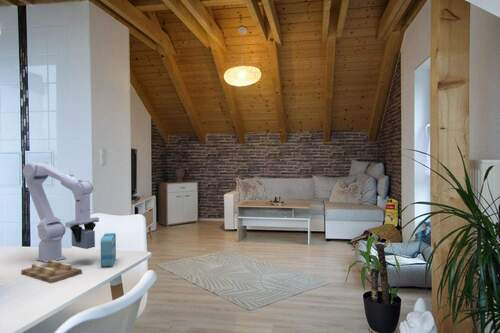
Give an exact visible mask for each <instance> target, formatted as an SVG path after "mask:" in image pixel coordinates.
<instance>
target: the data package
mask: <svg viewBox="0 0 500 333" xmlns="http://www.w3.org/2000/svg"><path fill="white" fill-rule="evenodd" d="M116 236H117V234H116V232H115V233H113V232H112V233H111V232H110V233H104V234H103V236H102V237H101V238H100V267H102V268H106V267H114V266H113V265H114V264H115V261H116V258H117V253H116V252H117V251H116V250H117V242H116V241H117V238H116Z"/></svg>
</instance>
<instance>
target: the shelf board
mask: <svg viewBox="0 0 500 333" xmlns="http://www.w3.org/2000/svg"><path fill="white" fill-rule="evenodd" d="M20 272H21V273H20V274H21V275H24V276H27V277H30V278H32V279H33V278H34V279H37V280H40V281H43V282H46V283H49V284H53V283H56V282H60V281H62V280H63V281H64V280H65V279H69V278H73V277H75V276H79V275H81V274H82V272H83V269H80V268H76V267H73V266H72V264H69V263H65V262H62V261H59V260H57V261H54V260H48V262H45V263H42V264H36V263H32V264H31V267H27V268H24V269H21V271H20Z"/></svg>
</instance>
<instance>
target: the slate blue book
mask: <svg viewBox="0 0 500 333" xmlns="http://www.w3.org/2000/svg"><path fill="white" fill-rule="evenodd" d="M95 232H96V231H95V230H94V229H93V230H87V229H85V228H82V230H81V241H80V243H78V242H76V240H75V237H74V234H73V232H72V231H71V246H72V247H74V248H75V247H76V248H80V249H85V250H88V249H92V248H95V246H96V237H95V236H96V233H95Z"/></svg>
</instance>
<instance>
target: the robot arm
mask: <svg viewBox="0 0 500 333" xmlns="http://www.w3.org/2000/svg"><path fill="white" fill-rule="evenodd" d="M22 174H23V177H24V179H25V182H26V188H27V190H28V192H29V194H30V197H31V199H32V202H33V204H34V207H35V209H36V213H37V215H38V217H39V220H40V222H39V223H38V224H37V226H36V228H37V235H38V238H39V240H40V242H39V244H38V257H37V258H36V260H38V261H41V262H44V263H48V260H54V261H60V260H64V259H67V256H63V255H62V239H63V237H64V235H65V234H66V231H67V230H66V228H69V229H70V231H71V233H72V232H73V234H74V237H75V240H76V242H78V243H80V241H81V230H82V229H87V230H93V231H94V229H95V227H96V223H99V222H100V217H97V216H96V217H91V194H92V192H93V190H94V187H93V184H92V183H91V182H90V181H88V180H87V181H83V180H82V179H81V178H78V177H76V176H75V174H73V173H64V172H63V171H60V170H59V169H57V168H56V167H55V166H53V164H51V163H49V162H46V161H44V162H27V163H25V164H24V167H23V169H22ZM49 177H51V178H53V179H55V180H57V181H59V182H60V184H61V186H62V187H65V188H66V189H68V190H70V191H71V193H72V194H73V197H74V201H75V204H74V206H75V216H74V217H75V218H74V220H70V221H66V222H65V223H63V222H62V221H61V219H60V218H58V217H56V216H55V215H54V212H53V210H52V207H51V204H50V202H49V200H48V197H47V195H46V192H45V189H44V187H43V183H45V182H46V180H47V179H48V178H49ZM64 224H65V225H64ZM83 227H84V228H83Z"/></svg>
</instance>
